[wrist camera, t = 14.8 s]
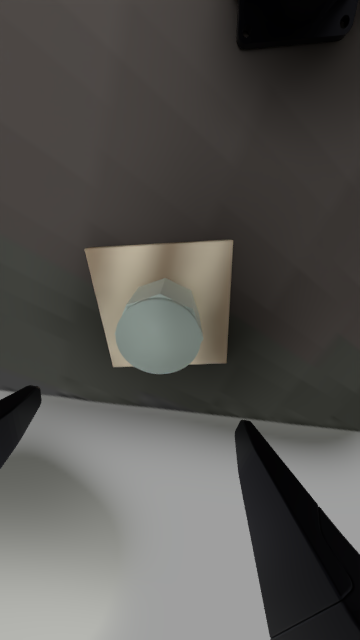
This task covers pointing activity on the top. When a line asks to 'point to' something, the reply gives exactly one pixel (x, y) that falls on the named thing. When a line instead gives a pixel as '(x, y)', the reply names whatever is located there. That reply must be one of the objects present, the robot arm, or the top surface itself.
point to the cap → (160, 328)
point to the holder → (176, 265)
